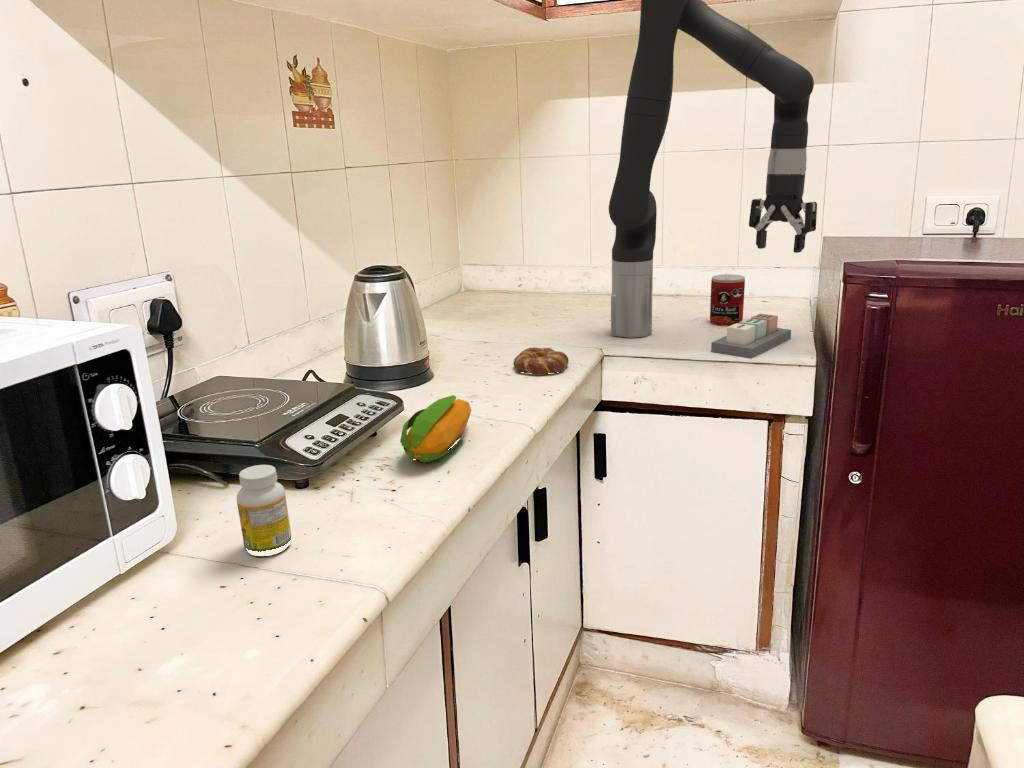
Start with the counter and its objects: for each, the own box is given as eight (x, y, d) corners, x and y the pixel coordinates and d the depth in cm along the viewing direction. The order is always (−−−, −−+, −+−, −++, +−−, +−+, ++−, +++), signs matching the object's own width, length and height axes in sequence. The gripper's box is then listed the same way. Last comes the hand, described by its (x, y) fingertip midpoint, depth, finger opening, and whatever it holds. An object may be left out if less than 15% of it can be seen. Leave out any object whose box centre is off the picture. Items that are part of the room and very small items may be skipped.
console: (711, 351, 161) (711, 342, 160) (752, 333, 174) (752, 324, 174) (751, 358, 155) (752, 348, 155) (790, 338, 168) (791, 329, 168)
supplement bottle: (290, 555, 87) (279, 478, 85) (241, 561, 87) (229, 484, 84) (294, 532, 93) (283, 459, 90) (248, 538, 92) (235, 464, 89)
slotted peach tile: (750, 332, 168) (751, 316, 167) (758, 328, 171) (759, 312, 170) (768, 335, 165) (769, 318, 164) (776, 331, 168) (778, 315, 167)
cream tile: (726, 343, 160) (727, 326, 159) (735, 339, 163) (736, 322, 162) (745, 346, 157) (746, 329, 156) (754, 342, 160) (755, 325, 159)
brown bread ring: (501, 367, 157) (500, 350, 156) (544, 358, 162) (544, 341, 161) (534, 381, 147) (534, 362, 146) (579, 370, 153) (579, 352, 152)
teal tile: (738, 337, 164) (739, 321, 163) (747, 333, 167) (748, 317, 166) (757, 340, 161) (758, 324, 160) (765, 336, 164) (766, 320, 163)
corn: (387, 420, 107) (442, 377, 125) (388, 469, 109) (442, 421, 127) (436, 427, 105) (485, 383, 123) (436, 478, 107) (484, 427, 125)
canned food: (706, 324, 183) (707, 279, 180) (714, 317, 190) (716, 273, 187) (738, 327, 180) (741, 280, 177) (745, 319, 187) (748, 274, 183)
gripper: (745, 171, 161) (740, 249, 166) (809, 173, 151) (800, 255, 156) (765, 170, 166) (759, 245, 171) (828, 171, 155) (819, 251, 161)
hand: (779, 250), depth 163 cm, fingers open, 8 cm apart
